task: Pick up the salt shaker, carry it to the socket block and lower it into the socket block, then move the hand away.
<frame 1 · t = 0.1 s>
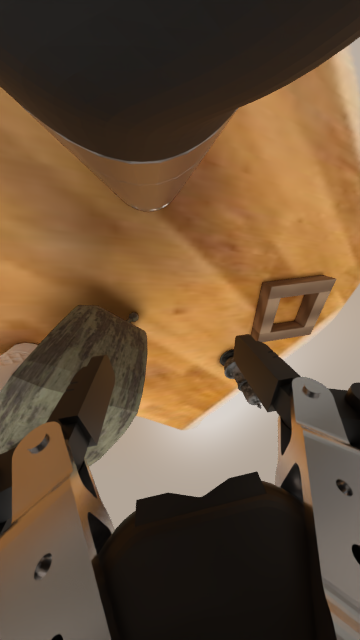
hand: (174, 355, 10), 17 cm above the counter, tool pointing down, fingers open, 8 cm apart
tabletop clock: (104, 327, 27), on the counter
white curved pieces: (33, 355, 28), on the counter
socket block: (283, 307, 31), on the counter
salt shaker: (230, 357, 37), on the counter
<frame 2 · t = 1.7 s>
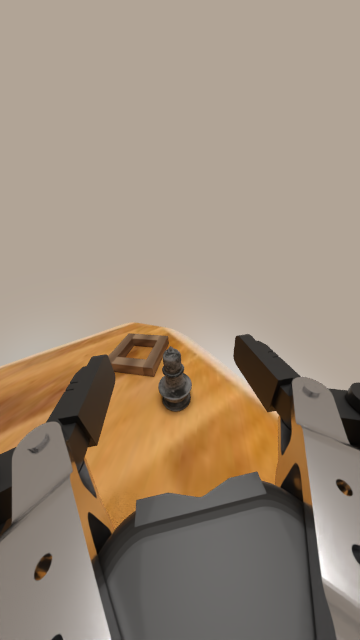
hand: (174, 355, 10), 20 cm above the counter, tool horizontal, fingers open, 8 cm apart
socket block: (140, 355, 40), on the counter
salt shaker: (176, 398, 29), on the counter
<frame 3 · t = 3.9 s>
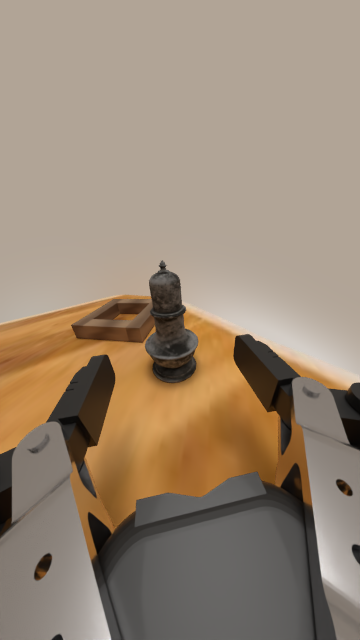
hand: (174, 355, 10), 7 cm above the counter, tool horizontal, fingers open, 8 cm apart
socket block: (126, 322, 30), on the counter
salt shaker: (174, 366, 19), on the counter
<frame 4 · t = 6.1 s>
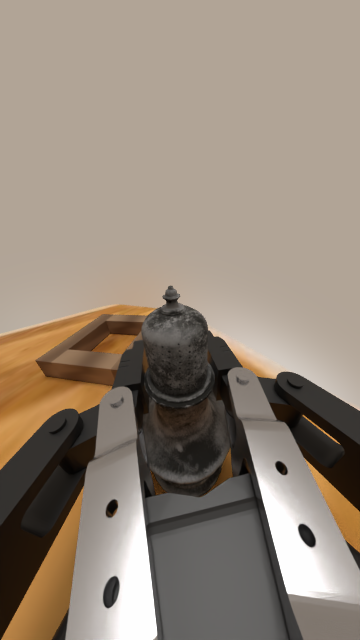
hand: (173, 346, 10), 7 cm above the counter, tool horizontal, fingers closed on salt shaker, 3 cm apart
socket block: (117, 348, 22), on the counter
salt shaker: (186, 447, 11), on the counter, touching gripper
when the fingers open (8 cm above the counter, at t = 11.5 s): salt shaker drops 1 cm, resting in socket block.
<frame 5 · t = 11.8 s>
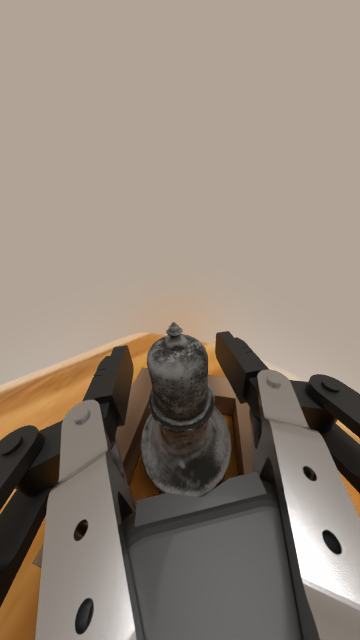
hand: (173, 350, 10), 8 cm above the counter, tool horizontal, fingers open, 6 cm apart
socket block: (187, 455, 12), on the counter
salt shaker: (187, 458, 12), resting in socket block
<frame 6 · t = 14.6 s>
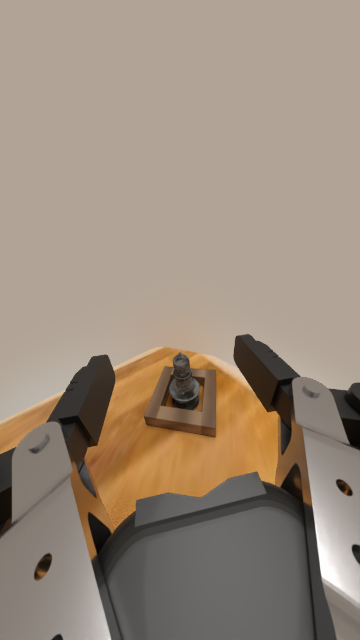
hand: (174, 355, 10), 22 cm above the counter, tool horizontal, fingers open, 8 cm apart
socket block: (185, 398, 31), on the counter
salt shaker: (185, 400, 31), resting in socket block
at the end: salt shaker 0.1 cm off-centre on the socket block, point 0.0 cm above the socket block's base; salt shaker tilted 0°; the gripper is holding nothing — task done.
